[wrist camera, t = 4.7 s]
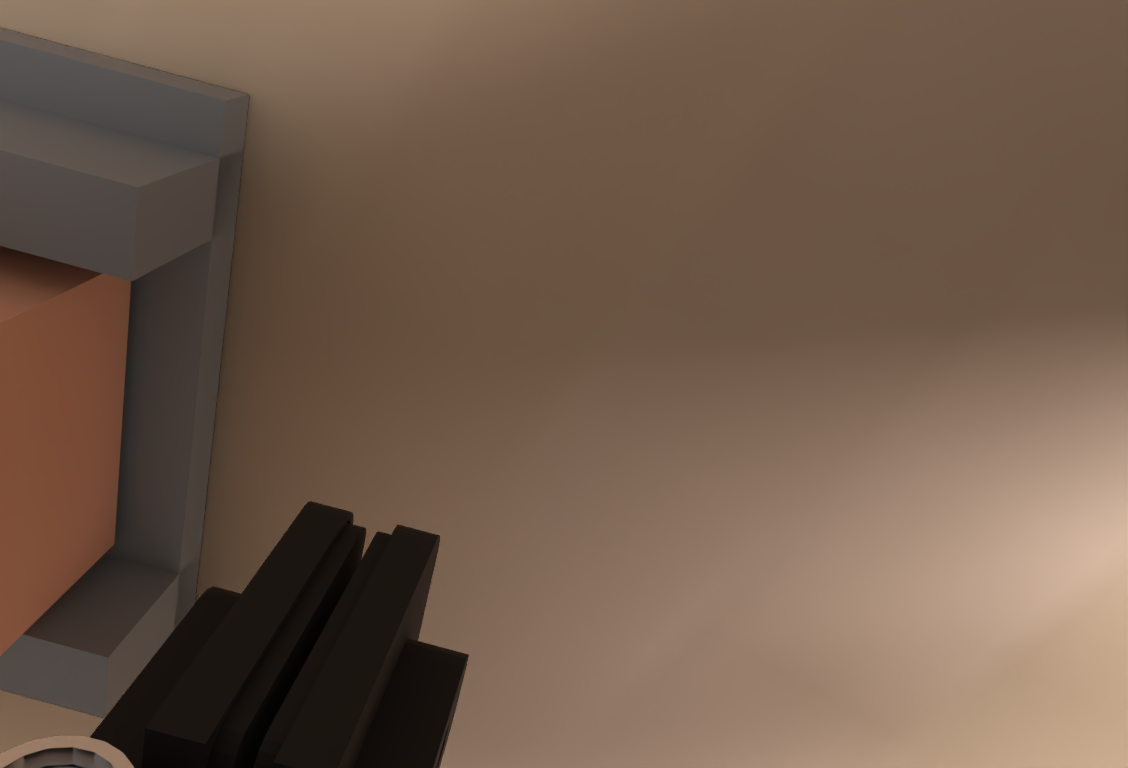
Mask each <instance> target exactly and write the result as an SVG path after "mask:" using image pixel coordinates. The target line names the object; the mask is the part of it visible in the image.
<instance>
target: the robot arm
mask: <svg viewBox="0 0 1128 768" xmlns="http://www.w3.org/2000/svg"><path fill="white" fill-rule="evenodd" d="M365 537H366V529H365V528H364V527H360V526H356V525H353V513H352V512H349V511H345V510H342V509H338V508H334V507H330V506H327V505H323V504H319V503H315V502H312V501H311V502H308V503H307V504H306V505H305V506H304V508H303V509H302V510H301V512H300V513H299V515H298V516H297V517H296V519H295V520H294V521H293V523H292V524H291V526H290V527H289V528H288V530H287V531H286V533H285V534H284V535H283V537H282V538H281V540H280V541H279V542H278V544H277V545H276V546H275V548H274V549H273V551H272V552H271V553H270V555H269V556H268V558H267V559H266V560H265V562H264V563H263V565H262V566H261V567H260V569H259V570H258V572H257V573H256V574H255V576H254V577H253V578H252V580H251V581H250V583H249V584H248V585H247V587H246V588H245V590H244V591H243V592H242V594H240V593H236V592H232V591H228V590H225V589H221V588H217V587H211V588H209V589H207V590H206V591H205V592H204V593H203V594H202V595H201V596H200V598H199V599H198V600H197V601H196V603H195V604H194V605H193V607H192V608H191V609H190V610H189V612H188V613H187V614H186V616H185V617H184V618H183V619H182V621H181V622H180V623H179V624H178V626H177V627H176V628H175V630H174V631H173V632H172V633H171V635H170V636H169V637H168V638H167V640H166V641H165V642H164V644H163V645H162V646H161V647H160V649H159V650H158V651H157V652H156V654H155V655H154V656H153V658H152V659H151V660H150V661H149V663H148V664H147V665H146V666H145V668H144V669H143V670H142V672H141V673H140V674H139V675H138V677H137V678H136V679H135V680H134V682H133V683H132V684H131V686H130V687H129V688H128V689H127V691H126V692H125V693H124V694H123V696H122V697H121V698H120V700H119V701H118V702H117V703H116V705H115V706H114V707H113V709H112V710H111V711H110V712H109V714H108V715H107V716H106V717H105V719H104V720H103V721H102V723H101V724H100V725H99V726H98V728H97V729H96V730H95V731H94V733H93V734H92V735H91V737H86V736H66V735H57V736H52V737H46V738H41V739H36V740H31V741H28V742H26V743H23V744H21V745H19V746H16V747H14V748H11V749H9V750H6V751H4V752H3V753H2V754H0V768H439V767H440V764H441V760H442V757H443V753H444V750H445V746H446V743H447V739H448V736H449V732H450V728H451V725H452V721H453V717H454V713H455V709H456V706H457V702H458V698H459V694H460V690H461V686H462V682H463V678H464V674H465V670H466V666H467V661H468V657H469V655H468V654H464V653H460V652H456V651H453V650H449V649H445V648H441V647H438V646H434V645H430V644H427V643H423V642H419V641H418V638H419V633H420V629H421V624H422V620H423V615H424V611H425V606H426V602H427V597H428V593H429V588H430V584H431V579H432V575H433V570H434V566H435V561H436V557H437V552H438V548H439V542H440V536H439V535H435V534H431V533H428V532H424V531H420V530H416V529H413V528H409V527H405V526H401V525H397V526H396V528H395V529H394V531H393V533H392V535H390V534H386V533H382V532H377V533H376V535H375V536H374V538H373V540H372V542H371V544H370V545H369V547H368V549H367V551H366V553H365V555H364V556H363V558H362V553H363V548H364V543H365ZM361 559H362V560H361Z"/></svg>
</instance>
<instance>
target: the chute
mask: <svg viewBox="0 0 1128 768" xmlns="http://www.w3.org/2000/svg"><path fill="white" fill-rule="evenodd" d="M248 105H249V94H245V93H241V92H238V91H234V90H230V89H226V88H223V87H219V86H215V85H212V84H208V83H204V82H200V81H197V80H193V79H189V78H186V77H182V76H178V75H174V74H171V73H167V72H163V71H160V70H156V69H152V68H148V67H145V66H141V65H137V64H134V63H130V62H126V61H122V60H119V59H115V58H111V57H108V56H104V55H100V54H96V53H93V52H89V51H85V50H82V49H78V48H74V47H70V46H67V45H63V44H59V43H56V42H52V41H48V40H44V39H41V38H37V37H33V36H30V35H26V34H22V33H18V32H15V31H11V30H7V29H4V28H0V246H3V247H7V248H11V249H14V250H18V251H22V252H25V253H29V254H33V255H36V256H40V257H44V258H47V259H51V260H55V261H59V262H62V263H66V264H70V265H73V266H77V267H81V268H84V269H88V270H92V271H95V272H99V273H103V274H107V275H110V276H114V277H118V278H121V279H125V280H129V281H131V291H130V307H129V323H128V338H127V354H126V370H125V385H124V401H123V417H122V432H121V448H120V464H119V480H118V495H117V511H116V527H115V542H114V545H113V546H112V547H111V548H110V549H109V550H108V551H107V552H106V553H105V554H104V555H103V556H102V557H101V558H100V559H99V560H98V561H97V562H96V563H95V564H94V565H93V566H92V567H91V568H90V569H89V570H88V571H86V572H85V573H84V574H83V575H82V576H81V577H80V578H79V579H78V580H77V581H76V582H75V583H74V584H73V585H72V586H71V587H70V588H69V589H68V590H67V591H66V592H65V593H64V594H63V595H62V596H61V597H60V598H59V599H58V600H57V601H56V602H55V603H54V604H53V605H52V606H51V607H50V608H49V609H48V610H47V611H46V612H45V613H44V614H43V615H42V616H41V617H40V618H39V619H38V620H36V621H35V622H34V623H33V624H32V625H31V626H30V627H29V628H28V629H27V630H26V631H25V632H24V633H23V634H22V635H21V636H20V637H19V638H18V639H17V640H16V641H15V642H14V643H13V644H12V645H11V646H10V647H9V648H8V649H7V650H6V651H5V652H4V653H3V654H2V655H1V656H0V690H2V691H6V692H10V693H13V694H17V695H21V696H24V697H28V698H32V699H35V700H39V701H43V702H46V703H50V704H54V705H57V706H61V707H65V708H68V709H72V710H75V711H79V712H83V713H86V714H90V715H94V716H97V717H101V718H105V716H106V715H107V714H108V713H109V711H110V710H111V709H112V708H113V706H114V705H115V704H116V703H117V701H118V700H119V699H120V697H121V696H122V695H123V694H124V692H125V691H126V690H127V689H128V687H129V686H130V685H131V684H132V682H133V681H134V680H135V678H136V677H137V676H138V675H139V673H140V672H141V671H142V670H143V668H144V667H145V666H146V665H147V663H148V662H149V661H150V660H151V659H152V658H153V656H154V655H155V654H156V652H157V651H158V650H159V649H160V647H161V646H162V645H163V644H164V642H165V641H166V640H167V638H168V637H169V636H170V635H171V633H172V632H173V631H174V630H175V628H176V627H177V626H178V624H179V623H180V622H181V621H182V619H183V618H184V617H185V616H186V614H187V613H188V612H189V610H190V609H191V608H192V607H193V605H194V604H195V599H196V589H197V580H198V571H199V561H200V552H201V543H202V533H203V524H204V515H205V505H206V496H207V487H208V477H209V468H210V459H211V449H212V440H213V431H214V421H215V412H216V403H217V394H218V384H219V375H220V366H221V356H222V347H223V338H224V328H225V319H226V310H227V300H228V291H229V282H230V272H231V263H232V254H233V244H234V235H235V226H236V216H237V207H238V198H239V188H240V179H241V170H242V161H243V151H244V142H245V133H246V123H247V114H248Z"/></svg>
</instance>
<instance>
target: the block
mask: <svg viewBox="0 0 1128 768" xmlns="http://www.w3.org/2000/svg"><path fill="white" fill-rule="evenodd" d="M130 291H131V281H129V280H125V279H121V278H118V277H114V276H110V275H107V274H103V273H99V272H95V271H92V270H88V269H84V268H81V267H77V266H73V265H70V264H66V263H62V262H59V261H55V260H51V259H47V258H44V257H40V256H36V255H33V254H29V253H25V252H22V251H18V250H14V249H11V248H7V247H3V246H0V656H1V655H2V654H3V653H4V652H5V651H6V650H7V649H8V648H9V647H10V646H11V645H12V644H13V643H14V642H15V641H16V640H17V639H18V638H19V637H20V636H21V635H22V634H23V633H24V632H25V631H26V630H27V629H28V628H29V627H30V626H31V625H32V624H33V623H34V622H35V621H36V620H38V619H39V618H40V617H41V616H42V615H43V614H44V613H45V612H46V611H47V610H48V609H49V608H50V607H51V606H52V605H53V604H54V603H55V602H56V601H57V600H58V599H59V598H60V597H61V596H62V595H63V594H64V593H65V592H66V591H67V590H68V589H69V588H70V587H71V586H72V585H73V584H74V583H75V582H76V581H77V580H78V579H79V578H80V577H81V576H82V575H83V574H84V573H85V572H86V571H88V570H89V569H90V568H91V567H92V566H93V565H94V564H95V563H96V562H97V561H98V560H99V559H100V558H101V557H102V556H103V555H104V554H105V553H106V552H107V551H108V550H109V549H110V548H111V547H112V546H113V545H114V542H115V527H116V511H117V495H118V480H119V464H120V448H121V432H122V417H123V401H124V385H125V370H126V354H127V338H128V323H129V307H130Z"/></svg>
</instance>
